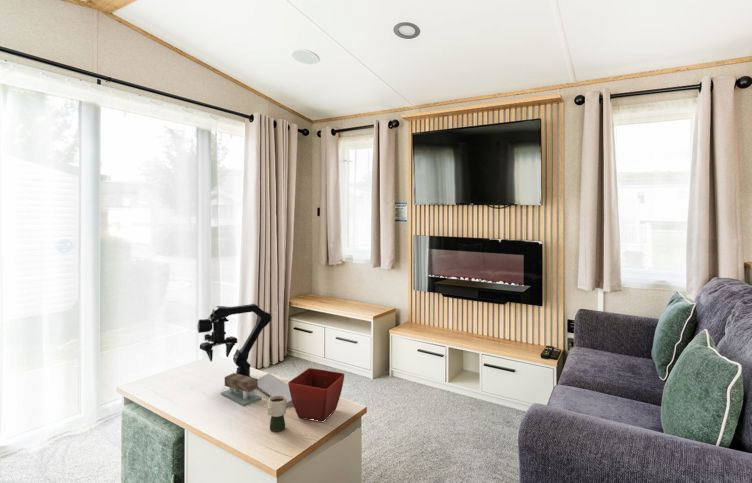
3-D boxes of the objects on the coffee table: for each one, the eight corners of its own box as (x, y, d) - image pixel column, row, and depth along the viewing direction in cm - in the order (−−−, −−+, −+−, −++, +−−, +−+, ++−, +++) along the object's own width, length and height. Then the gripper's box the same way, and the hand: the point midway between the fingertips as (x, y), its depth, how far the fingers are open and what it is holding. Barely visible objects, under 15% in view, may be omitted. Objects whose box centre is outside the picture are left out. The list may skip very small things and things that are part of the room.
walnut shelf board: (257, 387, 197) (257, 378, 197) (248, 392, 192) (248, 383, 191) (234, 381, 204) (233, 373, 204) (224, 385, 199) (224, 377, 199)
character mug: (279, 421, 174) (279, 392, 174) (292, 425, 171) (292, 395, 170) (261, 432, 165) (261, 401, 164) (274, 437, 161) (274, 405, 161)
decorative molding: (286, 413, 188) (304, 401, 194) (284, 404, 187) (301, 393, 193) (254, 390, 213) (271, 380, 220) (252, 382, 212) (268, 372, 219)
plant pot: (326, 428, 169) (326, 389, 168) (287, 420, 175) (287, 382, 175) (345, 408, 187) (345, 373, 186) (309, 402, 193) (309, 367, 192)
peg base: (238, 388, 208) (238, 378, 208) (261, 399, 196) (261, 389, 196) (221, 394, 201) (220, 384, 200) (243, 406, 188) (243, 395, 188)
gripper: (226, 324, 226) (227, 351, 227) (194, 331, 211) (194, 360, 212) (237, 327, 219) (238, 356, 220) (205, 335, 204) (205, 365, 205)
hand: (219, 359), depth 214 cm, fingers open, 9 cm apart
